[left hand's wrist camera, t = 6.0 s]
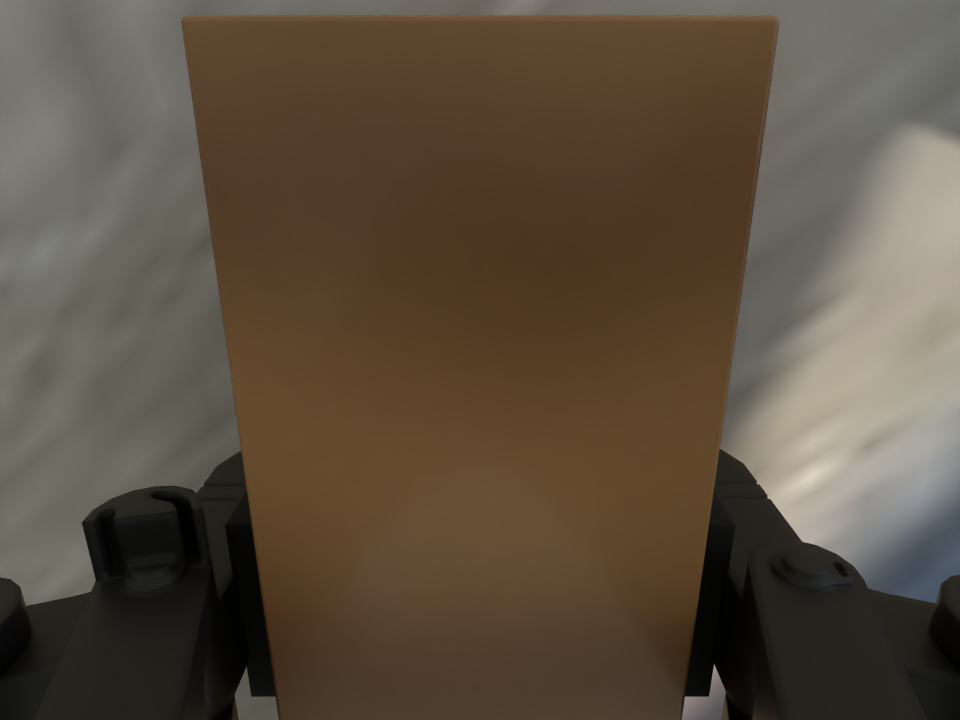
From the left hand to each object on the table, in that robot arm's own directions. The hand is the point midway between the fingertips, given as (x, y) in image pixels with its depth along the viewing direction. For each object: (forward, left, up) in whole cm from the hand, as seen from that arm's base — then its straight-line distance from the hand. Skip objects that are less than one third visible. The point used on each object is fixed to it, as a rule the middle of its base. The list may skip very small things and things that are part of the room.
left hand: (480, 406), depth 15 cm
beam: (+15, +25, -1) cm, 29 cm away
